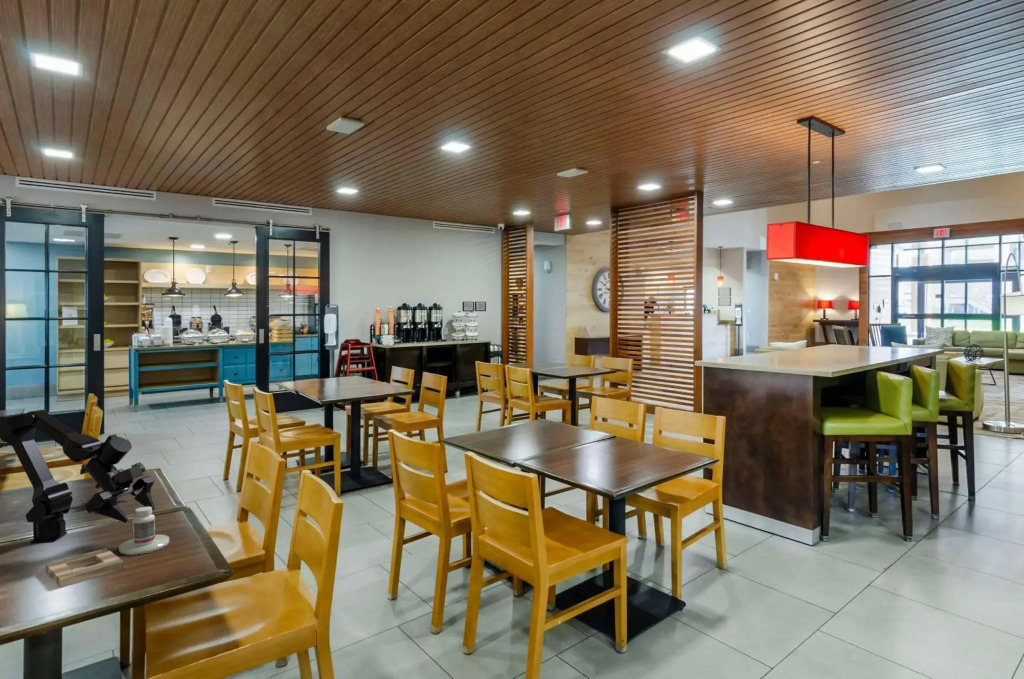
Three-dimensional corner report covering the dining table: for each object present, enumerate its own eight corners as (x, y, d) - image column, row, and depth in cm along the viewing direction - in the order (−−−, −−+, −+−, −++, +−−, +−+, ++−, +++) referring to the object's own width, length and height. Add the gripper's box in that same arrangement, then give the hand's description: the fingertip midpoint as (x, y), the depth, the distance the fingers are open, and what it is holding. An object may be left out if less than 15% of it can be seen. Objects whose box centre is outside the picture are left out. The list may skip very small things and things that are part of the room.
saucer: (110, 556, 151) (109, 553, 151) (131, 539, 162) (131, 535, 162) (158, 553, 153) (158, 549, 153) (176, 536, 165) (176, 533, 165)
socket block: (46, 572, 141) (45, 564, 141) (106, 555, 151) (106, 548, 151) (60, 587, 133) (60, 579, 133) (123, 568, 143) (123, 561, 143)
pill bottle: (159, 541, 159) (158, 507, 158) (139, 547, 154) (138, 513, 154) (148, 537, 161) (148, 504, 161) (128, 544, 157) (128, 509, 156)
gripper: (93, 464, 148) (130, 508, 147) (149, 448, 167) (182, 487, 166) (68, 491, 150) (104, 535, 149) (127, 472, 168) (159, 511, 167)
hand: (140, 515), depth 157 cm, fingers open, 9 cm apart
